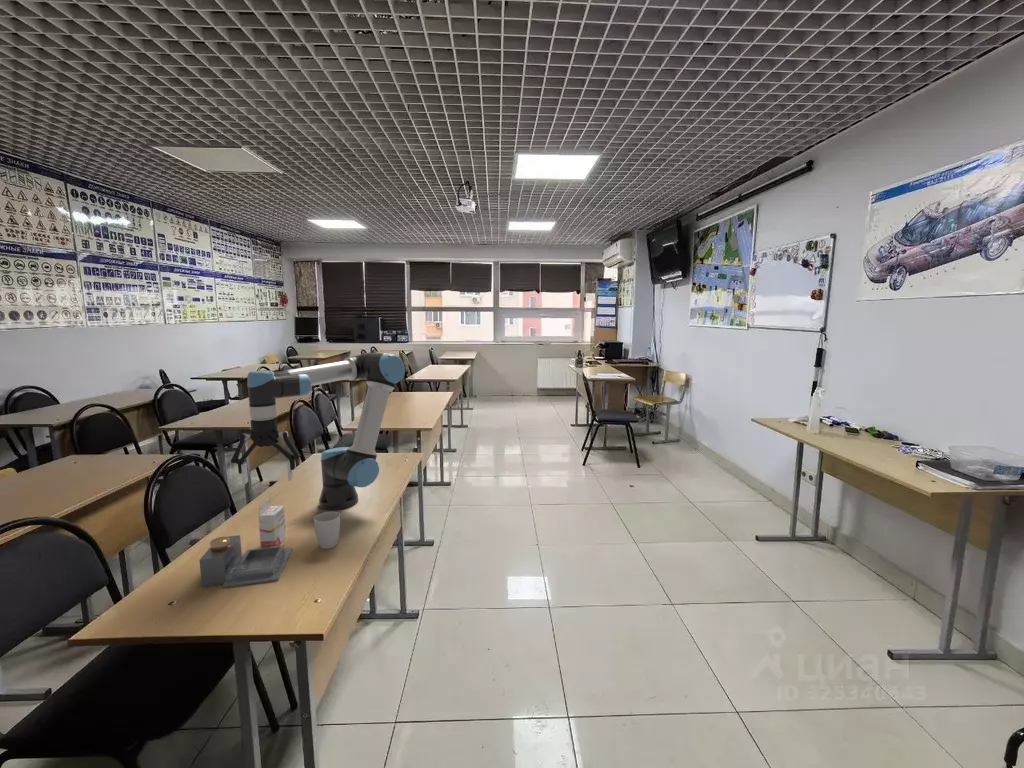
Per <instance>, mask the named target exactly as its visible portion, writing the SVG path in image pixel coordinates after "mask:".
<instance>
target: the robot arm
mask: <svg viewBox="0 0 1024 768" xmlns="http://www.w3.org/2000/svg"><path fill="white" fill-rule="evenodd" d="M405 373H406V368H405V363H404V362H403V359H401V357H400V356H399V355H397V354H392V353H389V352H385V353H383V352H382V353H380V352H368V353H367V352H365V353H363V354H358V355H354V356H349V357H345V358H344V359H343V360H341V361H334V362H328V363H322V364H316V365H308V366H305V367H297V368H293V369H291V368H290V369H285V370H280V371H279V370H278V371H272V370H253V371H250V372H248V374H247V379H246V381H247V384H246V385H247V386H246V388H247V391H248V402H249V406H248V408H249V418H250V419H251V420H250V433H246V432H243V433H242V434H241V435H240V437H239V442H238V445H237V447H236V449H235V451H234V454H233V455H232V458H231V459H230V463H231V464H236V465H237V471H238V474H239V475H241V478H242V479H241V481H242V485H246V484H247V483H248V482H249V477H248V463H247V462H246V459H248V457H249V456H250V455H251V453H252V452H253V451H254V450H255V449H256V447H257V446H258V447H259V448H263V447H271V446H272V447H274V448H276V449H277V450H278V451H279V452H280V454H282V455H283V456H284V457H285V458H287V459H288V460H287V462H286V465H287V466H286V467H287V481H288V482H290V481H292V479H293V475H294V474H293V471H294V470H295V469H296V460H298V459H299V458H300V457H301V456H302V455H301V453H300V452H299V450H298V447H296V445H295V444H294V442H293V440H292V439H291V437H290V434H289V431H288V430H285V431H281V432H279V431H278V420H277V418H276V416H277V403H276V400H277V399H281V398H282V399H283V398H289V397H290V398H291V397H301V396H304V395H308V394H309V393H310V392H311V390H312V386H317V385H323V384H329V383H333V382H338V381H342V380H343V381H344V380H348V381H356V380H363V381H364V380H366V381H365V383H366V385H367V392H366V395H365V399H364V402H363V406H362V410H361V413H360V416H359V421H358V425H357V428H356V432H355V435H354V438H353V439H354V440H353V442H352V445H351V446H342V447H341V446H340V447H335V448H334V447H333V448H330V449H329V448H328V449H327V450H324V451H322V452H321V455H320V456H321V457H320V463H321V481H322V487H321V492H320V496H319V499H318V506H319V508H321V509H322V508H323V510H329V511H333V510H335V509H337V510H343V509H346V508H350V507H352V505H353V506H354V505H356V504H357V503H358V502H357V501H359V495H358V492H357V490H356V488H366V487H369V486H370V485H371V484H373V483H374V482H375V480H376V479H378V478H377V477H378V476H379V475H380V473H379V472H380V466H379V463H378V461H377V457H378V454H377V452H376V446H377V441H378V437H379V434H380V431H381V430H380V429H381V426H382V423H383V419H384V415H385V413H386V412H385V411H386V408H387V404H388V401H389V397H390V393H391V392H392V391H394V390H395V388H396V384H397V383H399V382H401V381H402V380H403V378H404V377H405ZM279 437H280V438H281V439H282V440H283V441H284V443H285V444H286V446H287V447H285V446H284V445H283V444H282V443H281V441H279V440H278V438H279ZM249 439H251V441H252V444H251V445H250V446H249V448H248V449H247V450H246V451H245V452H244V453H243V454H242V456H241V457H240V455H241V453H242V452H243V449H244V446H245V445H246V443H247V441H248V440H249ZM288 449H289V450H290V451H289V450H288ZM355 503H356V504H355ZM335 511H336V510H335Z"/></svg>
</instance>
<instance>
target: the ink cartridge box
mask: <svg viewBox="0 0 1024 768" xmlns="http://www.w3.org/2000/svg"><path fill="white" fill-rule="evenodd" d="M271 499H272V498H270V497H269V498H267V499H266V500H265V501H264V502H263V503H262V504H260V505H259V507H258V524H259V525H258V528H259V540H260V541H259V542H260V548H266V547H275V546H280V545H281V543H282V542H283V541H284V540H285V539H286V538H287V534H286V517H285V516H286V515H285V505H271ZM265 505H266V506H265Z"/></svg>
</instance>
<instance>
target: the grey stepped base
mask: <svg viewBox="0 0 1024 768" xmlns="http://www.w3.org/2000/svg"><path fill="white" fill-rule="evenodd" d="M241 540H242V539H241V534H240V535H239V534H238V535H230V536H220V537H216V538H214V539H212V540H211V541H210V542H209V545H210V547H209V548H208V549H207V551H205V553H204V554H203V555H202V556H201V557H200V558H199V570H200V572H199V573H200V581H201V582H200V583H201V588H204V587H205V588H206V587H211V586H218V585H223V586H222V588H224V589H225V588H231V587H238V586H246V585H254V584H255V585H256V584H261V583H269V582H276V581H277V582H278V581H279V580H280V578H281V575H282V573H283V571H284V569H285V567H286V565H287V563H288V560H289V558H290V556H291V554H292V552H293V547H287V548H285V545H278V546H275V547H266V548H261V547H259V548H250V549H247V550H246V551H245V552H244V553H243V554H242V543H241V542H242V541H241Z"/></svg>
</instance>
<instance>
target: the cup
mask: <svg viewBox="0 0 1024 768" xmlns="http://www.w3.org/2000/svg"><path fill="white" fill-rule="evenodd" d="M313 523H314V525H313V526H314V530H315V531H314V532H315V536H316V539H317V542H318V545H319V546H320V548H321V549H324V550H327V549H331V548H334V547H336V546H337V545H338V544H337V543H338V540H339V537H340V529H341V513H340V512H337V511H325V512H322V513H321V512H320V513H319V514H317V515H315V516H314V517H313Z"/></svg>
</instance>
